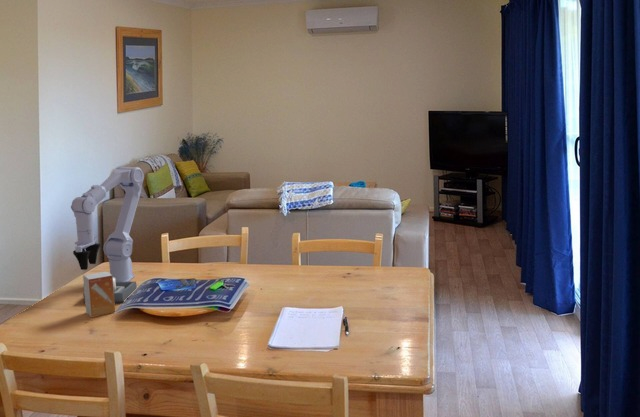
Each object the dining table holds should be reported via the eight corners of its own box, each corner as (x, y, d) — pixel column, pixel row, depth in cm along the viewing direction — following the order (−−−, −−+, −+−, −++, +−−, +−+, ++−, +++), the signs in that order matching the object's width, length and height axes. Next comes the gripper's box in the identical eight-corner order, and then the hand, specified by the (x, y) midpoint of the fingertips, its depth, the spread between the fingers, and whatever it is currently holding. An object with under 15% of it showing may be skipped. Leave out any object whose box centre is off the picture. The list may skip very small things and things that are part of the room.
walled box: (99, 290, 265) (98, 281, 264) (136, 290, 263) (136, 281, 263) (84, 302, 251) (83, 293, 250) (123, 303, 250) (122, 293, 249)
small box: (91, 317, 235) (88, 279, 233) (85, 312, 241) (82, 275, 238) (116, 312, 240) (112, 274, 237) (109, 307, 245) (106, 270, 243)
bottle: (107, 293, 259) (105, 273, 258) (118, 293, 259) (116, 273, 257) (103, 296, 255) (101, 276, 254) (114, 296, 255) (112, 276, 253)
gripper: (82, 225, 267) (86, 261, 270) (65, 234, 253) (69, 272, 255) (101, 225, 266) (104, 261, 269) (85, 234, 252) (88, 272, 255)
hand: (88, 266), depth 262 cm, fingers open, 7 cm apart
